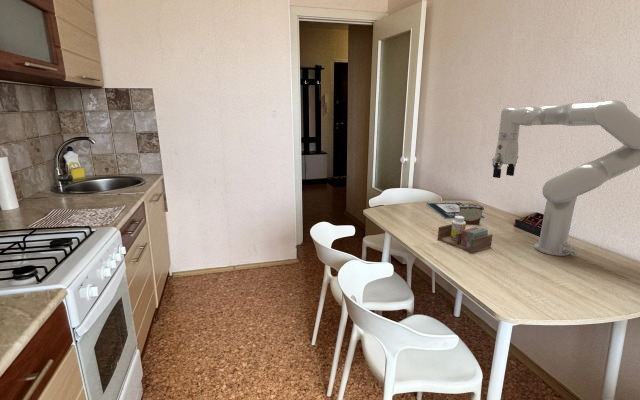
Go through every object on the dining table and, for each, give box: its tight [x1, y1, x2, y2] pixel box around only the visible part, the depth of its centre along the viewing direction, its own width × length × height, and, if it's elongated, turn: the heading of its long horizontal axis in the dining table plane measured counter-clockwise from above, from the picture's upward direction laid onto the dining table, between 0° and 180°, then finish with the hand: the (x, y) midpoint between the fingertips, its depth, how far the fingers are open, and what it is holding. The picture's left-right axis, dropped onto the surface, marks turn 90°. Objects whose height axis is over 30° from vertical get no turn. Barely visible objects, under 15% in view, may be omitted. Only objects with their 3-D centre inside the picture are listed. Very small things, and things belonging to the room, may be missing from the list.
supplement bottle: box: [451, 216, 467, 240], centre depth 154 cm, size 6×6×10 cm
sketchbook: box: [425, 201, 485, 220], centre depth 202 cm, size 22×30×2 cm
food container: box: [458, 202, 485, 226], centre depth 179 cm, size 12×6×10 cm, turn 84°
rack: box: [437, 223, 493, 255], centre depth 151 cm, size 18×12×8 cm, turn 30°
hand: (503, 176), depth 154 cm, fingers open, 9 cm apart
